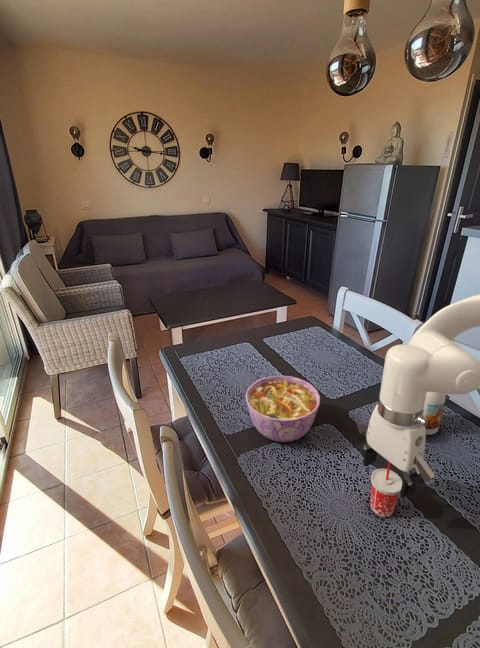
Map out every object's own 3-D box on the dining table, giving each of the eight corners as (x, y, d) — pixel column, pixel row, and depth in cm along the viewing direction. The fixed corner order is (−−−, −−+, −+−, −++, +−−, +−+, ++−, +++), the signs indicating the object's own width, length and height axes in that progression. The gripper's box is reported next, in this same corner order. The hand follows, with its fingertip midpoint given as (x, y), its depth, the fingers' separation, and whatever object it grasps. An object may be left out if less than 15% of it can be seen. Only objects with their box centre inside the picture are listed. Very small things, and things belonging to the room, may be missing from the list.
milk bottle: (409, 435, 98) (422, 373, 90) (404, 417, 105) (416, 357, 97) (440, 439, 96) (456, 376, 88) (433, 420, 103) (447, 360, 95)
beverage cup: (403, 516, 76) (413, 466, 71) (381, 528, 74) (390, 478, 68) (381, 494, 81) (389, 446, 76) (360, 504, 79) (367, 456, 73)
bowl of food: (292, 469, 89) (293, 432, 84) (231, 433, 101) (230, 399, 96) (330, 426, 102) (333, 392, 98) (273, 399, 115) (274, 367, 110)
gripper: (457, 428, 62) (438, 500, 69) (375, 380, 76) (366, 444, 82) (430, 446, 58) (413, 519, 65) (349, 392, 72) (342, 458, 79)
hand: (387, 477), depth 74 cm, fingers open, 8 cm apart
